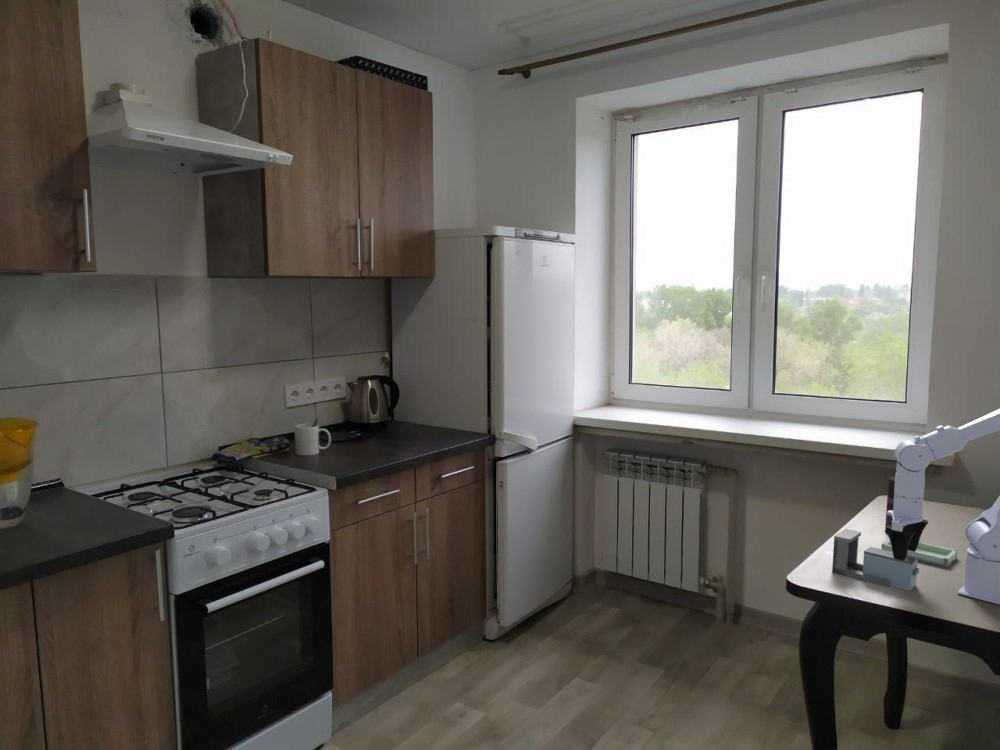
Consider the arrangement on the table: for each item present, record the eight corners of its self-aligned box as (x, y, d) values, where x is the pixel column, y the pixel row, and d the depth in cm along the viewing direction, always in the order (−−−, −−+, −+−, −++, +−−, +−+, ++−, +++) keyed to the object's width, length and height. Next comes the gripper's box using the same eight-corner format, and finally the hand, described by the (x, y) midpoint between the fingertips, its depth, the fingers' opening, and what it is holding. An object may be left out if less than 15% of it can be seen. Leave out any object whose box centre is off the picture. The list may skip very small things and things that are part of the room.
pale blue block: (918, 586, 162) (920, 558, 161) (913, 591, 159) (915, 563, 158) (868, 573, 169) (870, 546, 169) (862, 578, 167) (864, 551, 166)
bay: (897, 578, 166) (900, 541, 165) (887, 586, 161) (890, 548, 160) (843, 563, 175) (845, 528, 174) (832, 572, 170) (834, 535, 169)
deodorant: (897, 537, 193) (900, 483, 191) (879, 530, 199) (883, 477, 197) (915, 535, 195) (919, 481, 193) (897, 528, 200) (901, 475, 199)
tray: (956, 558, 179) (957, 550, 178) (947, 567, 173) (947, 559, 172) (892, 543, 189) (892, 536, 189) (881, 551, 183) (881, 544, 183)
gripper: (899, 485, 168) (896, 542, 169) (878, 498, 158) (874, 558, 159) (933, 491, 163) (929, 549, 164) (914, 505, 153) (909, 567, 154)
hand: (905, 554), depth 162 cm, fingers open, 7 cm apart
